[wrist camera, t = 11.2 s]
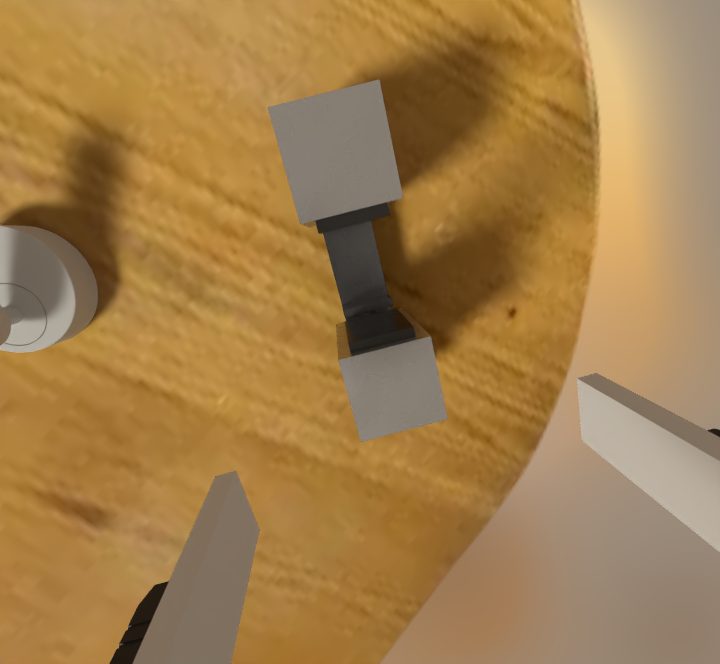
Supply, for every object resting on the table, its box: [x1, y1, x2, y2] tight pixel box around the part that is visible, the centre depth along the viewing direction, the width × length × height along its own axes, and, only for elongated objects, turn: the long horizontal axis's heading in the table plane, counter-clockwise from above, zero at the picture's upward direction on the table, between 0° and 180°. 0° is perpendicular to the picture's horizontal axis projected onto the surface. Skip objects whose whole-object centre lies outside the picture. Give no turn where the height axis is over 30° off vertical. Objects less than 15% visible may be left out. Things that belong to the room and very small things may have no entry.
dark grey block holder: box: [268, 80, 403, 321], centre depth 23 cm, size 20×5×10 cm, turn 14°
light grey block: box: [336, 307, 447, 442], centre depth 23 cm, size 6×5×8 cm
